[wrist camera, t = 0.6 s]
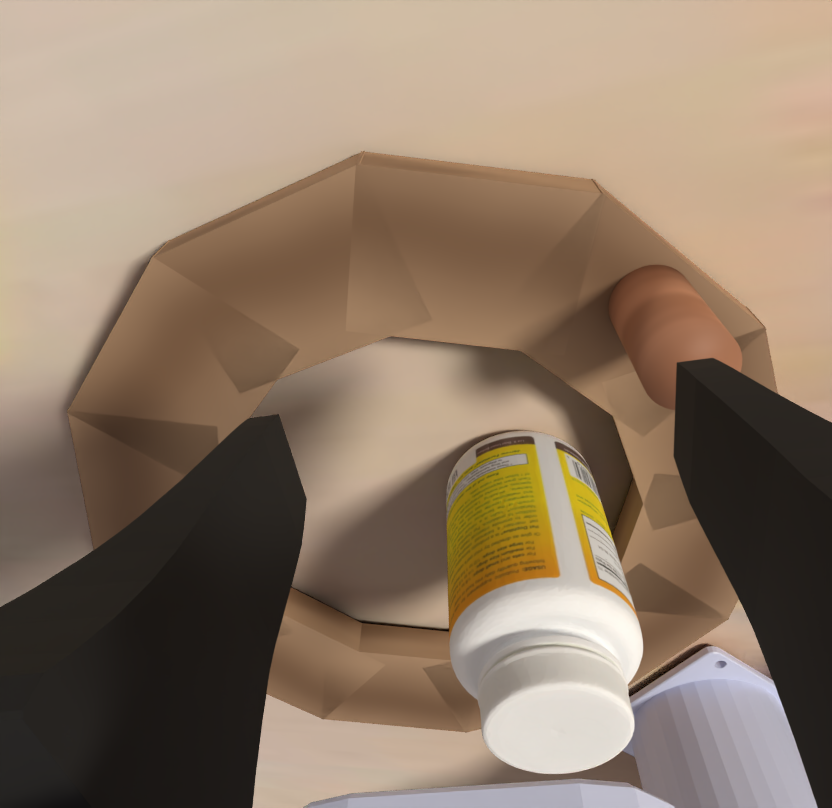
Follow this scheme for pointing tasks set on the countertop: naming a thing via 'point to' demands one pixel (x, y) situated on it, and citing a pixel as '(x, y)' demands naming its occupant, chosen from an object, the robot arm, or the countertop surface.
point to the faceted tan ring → (427, 320)
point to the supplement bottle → (539, 605)
